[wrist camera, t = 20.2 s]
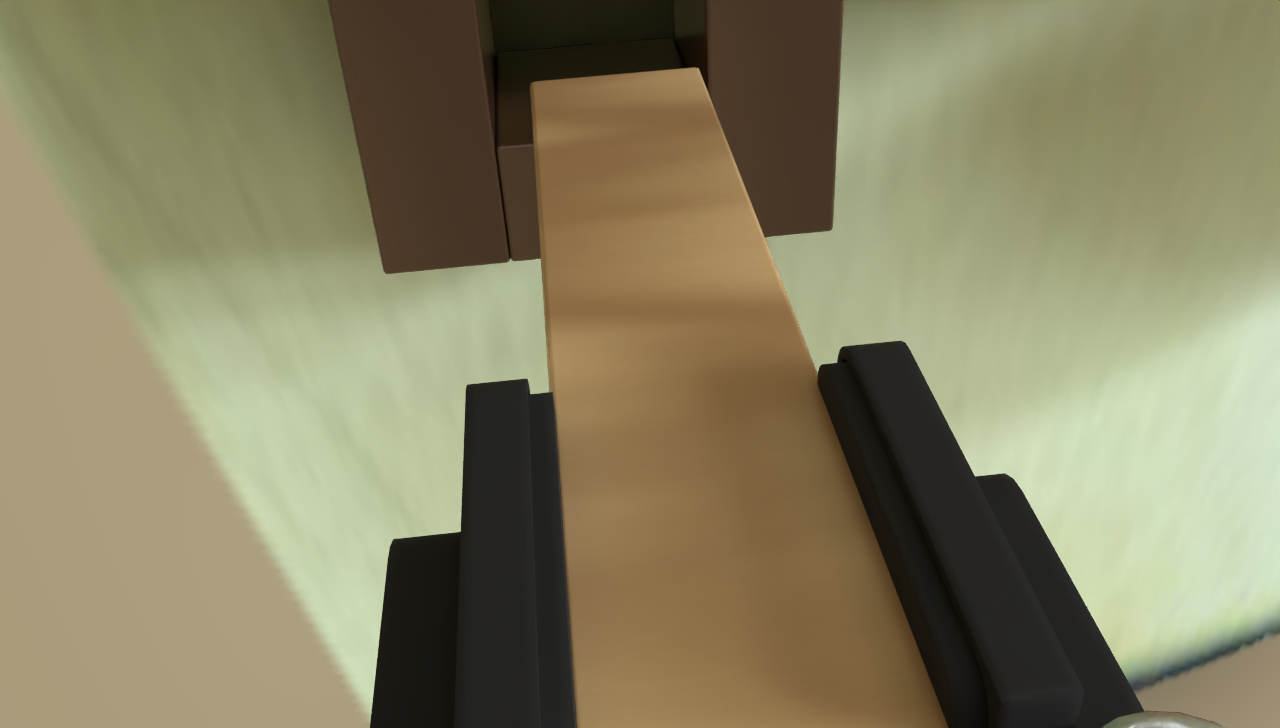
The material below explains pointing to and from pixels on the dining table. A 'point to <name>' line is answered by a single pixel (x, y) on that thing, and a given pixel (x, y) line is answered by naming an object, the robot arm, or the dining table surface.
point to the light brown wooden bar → (698, 440)
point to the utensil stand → (500, 86)
